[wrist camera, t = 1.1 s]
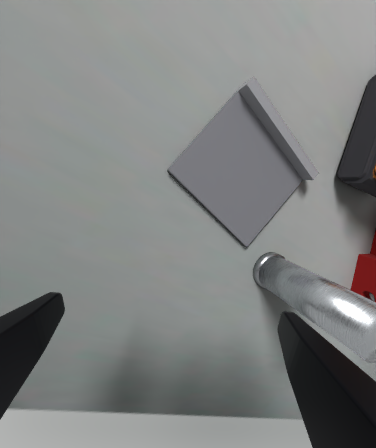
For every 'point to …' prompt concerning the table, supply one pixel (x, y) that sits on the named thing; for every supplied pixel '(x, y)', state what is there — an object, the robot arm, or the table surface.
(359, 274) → the mechanical linkage
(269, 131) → the bracket
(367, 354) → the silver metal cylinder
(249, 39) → the table surface
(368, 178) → the power drill
